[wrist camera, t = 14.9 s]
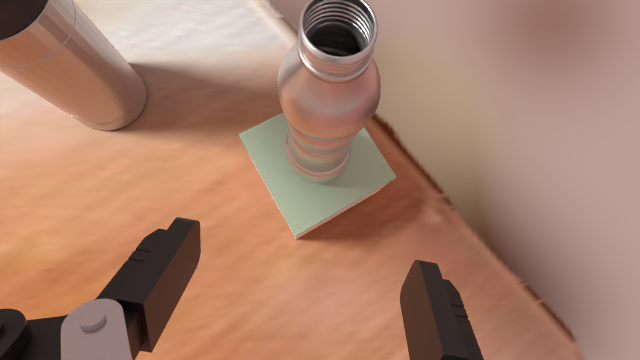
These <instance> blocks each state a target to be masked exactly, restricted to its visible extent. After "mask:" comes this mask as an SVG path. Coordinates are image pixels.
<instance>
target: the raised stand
mask: <svg viewBox="0 0 640 360" xmlns="http://www.w3.org/2000/svg"><path fill="white" fill-rule="evenodd" d="M288 131H289V125H288V121H287V119H286V117H285V115H284V113H283V112H282V113H280V114H278V115H276V116H274V117H272V118H270V119H268V120H266V121H264V122H262V123H260V124H258V125H256V126H254V127H252V128H250V129H248V130H246V131H244V132H242V133H240V134H238V135H239V137H240V139H241V141H242V142H243V144H244V146H245V148H246V150H247V151H248V154H249V156H250V158H251V160H252V161H253V163H254V165H255V167H256V168H257V170H258V172H259V174H260V176H261V177H262V179H263V181H264V183H265V185H266V186H267V188H268V190H269V192H270V194H271V195H272V197H273V199H274V201H275V202H276V204H277V206H278V208H279V210H280V211H281V213H282V215H283V217H284V219H285V220H286V222H287V224H288V226H289V228H290V229H291V231H292V233H293V235H294V236H295V238H296V239H298V238H299V237H301V236H303V235H305V234H306V233H308V232H310V231H311V230H313V229H315V228H317V227H318V226H320V225H322V224H323V223H325V222H327V221H329V220H330V219H332V218H334V217H335V216H337V215H339V214H341V213H342V212H344V211H346V210H347V209H349V208H351V207H353V206H354V205H356V204H358V203H360V202H361V201H363V200H365V199H366V198H368V197H370V196H372V195H373V194H375V193H377V192H378V191H379V190H380V189H382V188H383V187H384V186H385V185H386V184H388V183H389V182H390V181H392V180H394V179H395V178H396V175H395V174H394V172H393V171H392V169H391V167H390V166H389V164H388V163H387V161H386V160H385V158H384V157H383V155H382V153H381V152H380V150H379V149H378V147H377V146H376V144H375V143H374V141H373V140H372V138H371V136H370V135H369V133H368V132H367V130H366V129H365V127H363V128H362V129H361V130H360V131H359V132H358V133H357V134H356V135H355V136H354V138H353V140H352V141H351V156H350V160H349V163H348V165H347V167H346V169H345V170H344V171H343V173H341V174H340V175H339V176H338V177H336V178H335V179H333V180H331V181H328V182H325V183H311V182H307V181H305V180H303V179H301V178H300V177H299V176H297V175H296V174H295V173H294V171H293V170H292V169H291V168H290V166H289V164H288V163H287V160H286V157H285V150H284V147H285V140H286V137H287V133H288Z"/></svg>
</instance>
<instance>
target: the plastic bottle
mask: <svg viewBox="0 0 640 360" xmlns="http://www.w3.org/2000/svg"><path fill="white" fill-rule="evenodd" d="M377 29H378V24H377V19H376V16H375V13H374V11H373V10H372V8H371V7H370V5H369V4H368V3H367V2H366V1H365V0H309V1H308V2H307V3H306V4H305V6H304V8H303V9H302V12H301V16H300V20H299V34H298V39H297V43H296V44H295V45H293V47H292V48H291V49H290V50H289V51H288V52H287V54H286V56H285V58H284V59H283V62H282V64H281V66H280V69H279V72H278V76H277V93H278V98H279V102H280V105H281V108H282V111H283V113H284V115H285V117H286V119H287V121H288V125H289V131H288V133H287V137H286V140H285V147H284V150H285V157H286V160H287V163H288V164H289V166H290V168H291V169H292V170H293V171H294V173H295V174H296V175H297V176H299V177H300V178H301V179H303V180H305V181H307V182H311V183H325V182H328V181H331V180H333V179H335V178H336V177H338V176H339V175H340V174H341V173H343V171H344V170H345V169H346V167H347V165H348V163H349V160H350V156H351V141H352V140H353V138H354V136H355V135H356V134H357V133H358V132H359V131H360V130H361V129H362V128H363V127H365V125H366V124H367V123H368V121H369V120H370V119H371V117H372V116H373V115H374V113H375V111H376V109H377V106H378V103H379V99H380V76H379V71H378V68H377V65H376V63H375V61H374V59H373V58H372V56H373V52H374V44H375V42H376V38H377V31H378V30H377Z"/></svg>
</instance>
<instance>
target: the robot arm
mask: <svg viewBox="0 0 640 360" xmlns="http://www.w3.org/2000/svg"><path fill="white" fill-rule="evenodd" d="M0 71H1V72H2V73H4V74H6V75H7V76H9V77H10V78H12V79H14V80H15V81H17V82H18V83H20V84H22V85H23V86H25V87H26V88H28V89H29V90H31V91H33V92H34V93H36V94H37V95H39V96H41V97H42V98H44V99H45V100H47V101H49V102H50V103H52V104H53V105H55V106H56V107H58V108H60V109H61V110H63V111H64V112H66V113H67V114H69V115H71V116H72V117H74V118H75V119H77V120H79V121H80V122H82V123H83V124H85V125H87V126H89V127H91V128H93V129H97V130H106V131H109V130H115V129H119V128H122V127H124V126H126V125H128V124H130V123H131V122H133V121H134V120H135V119H136V118H137V117H138V116H139V115H140V113H141V112H142V110H143V108H144V106H145V104H146V100H147V90H146V86H145V84H144V82H143V80H142V79H141V78H140V76H139V75H138V74H137V73H136V72H135V71H134V70H133V68H132V67H131V66H130V65H129V64H128V63H127V61H126V60H125V59H124V58H123V57H122V55H121V54H120V53H119V52H118V51H117V50H116V49H115V47H114V46H113V45H112V44H111V43H110V42H109V41H108V39H107V38H106V37H105V36H104V35H103V34H102V33H101V31H100V30H99V29H98V28H97V27H96V26H95V24H94V23H93V22H92V21H91V20H90V19H89V18H88V16H87V15H86V14H85V13H84V12H83V11H82V10H81V8H80V7H79V6H78V5H77V4H76V3H75V2H74V0H0ZM200 252H201V248H200V222H199V221H197V220H191V219H186V218H180V217H177V218H176V219H175V220H174V221H173V222H172V224H171V225H170V227H169V228H168V229H167V230H164V229H157V230H156V231H154V232H153V233H151V234H149V235H148V236H146V237H145V238H144V239H143V240H142V242H141V243H140V244H139V246H138V247H137V248H136V251H134V252H133V253H132V254H131V256H130V257H129V259H128V261H126V262H125V263H124V264H123V266H122V267H121V268H120V269H119V271H118V272H117V273H116V274H115V276H114V277H113V278H112V279H111V281H110V282H109V283H108V284H107V286H106V287H105V288H104V289H103V291H102V292H101V293H100V294H99V296H98V297H97V298H96V299H95V300H92V301H89V302H86V303H84V304H82V305H80V306H79V307H77V308H76V309H74V310H73V311H72V312H71V313H70V314H68V315H65V316H60V317H52V318H43V319H34V320H26V318H25V316H24V315H23V313H21V312H20V311H18V310H14V309H0V360H135V358H136V357H137V355H138V353H139V351H145V352H151V353H152V351H153V349H154V347H155V345H156V343H157V341H158V339H159V338H160V336H161V334H162V332H163V330H164V328H165V326H166V324H167V322H168V321H169V319H170V317H171V315H172V313H173V311H174V309H175V307H176V305H177V304H178V302H179V300H180V298H181V296H182V294H183V292H184V290H185V288H186V287H187V285H188V283H189V281H190V279H191V277H192V275H193V273H194V271H195V269H196V267H197V265H198V262H199V258H200ZM400 304H401V310H402V316H403V322H404V328H405V333H406V339H407V345H408V351H409V357H410V360H484V359H483V356H482V354H481V351H480V348H479V346H478V343H477V340H476V338H475V335H474V332H473V329H472V327H471V324H470V321H469V320H468V316H467V313H466V310H465V309H464V305H463V302H462V300H461V297H460V294H459V292H458V291H457V290H456V288H455V287H454V286H453V284H452V283H451V282H450V281H449V280H445V279H442V276H441V273H440V269H439V267H438V265H437V264H436V263H431V262H426V261H420V260H415V261H414V262H413V264H412V266H411V269H410V271H409V273H408V275H407V277H406V279H405V282H404V284H403V286H402V289H401V294H400Z"/></svg>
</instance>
